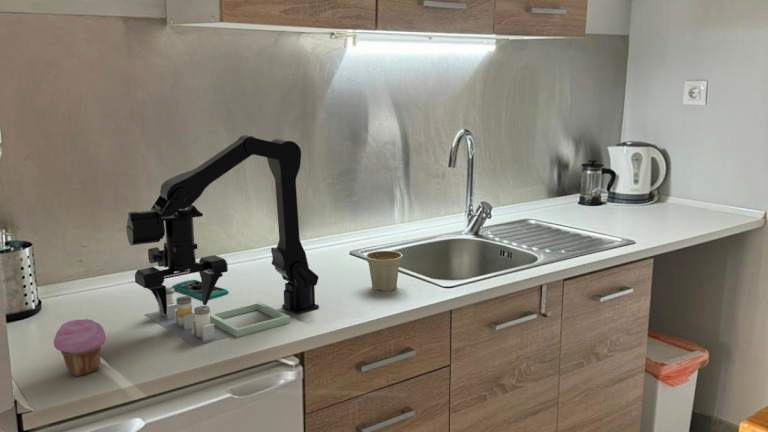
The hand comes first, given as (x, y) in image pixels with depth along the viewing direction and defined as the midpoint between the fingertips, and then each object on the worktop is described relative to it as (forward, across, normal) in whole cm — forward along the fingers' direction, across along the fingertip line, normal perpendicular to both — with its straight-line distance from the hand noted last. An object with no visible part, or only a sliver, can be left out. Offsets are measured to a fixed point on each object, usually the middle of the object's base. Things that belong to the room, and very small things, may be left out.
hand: (184, 309), depth 156 cm
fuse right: (+4, 0, +8) cm, 9 cm away
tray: (+5, -11, +7) cm, 14 cm away
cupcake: (+5, +24, +7) cm, 26 cm away
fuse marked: (+4, 0, 0) cm, 4 cm away
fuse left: (+4, 0, -8) cm, 9 cm away
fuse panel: (+5, 0, 0) cm, 5 cm away
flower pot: (+5, -52, +5) cm, 52 cm away
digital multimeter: (+5, -13, -20) cm, 24 cm away
